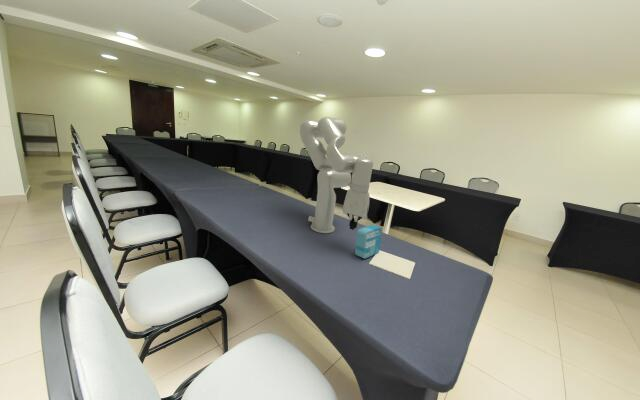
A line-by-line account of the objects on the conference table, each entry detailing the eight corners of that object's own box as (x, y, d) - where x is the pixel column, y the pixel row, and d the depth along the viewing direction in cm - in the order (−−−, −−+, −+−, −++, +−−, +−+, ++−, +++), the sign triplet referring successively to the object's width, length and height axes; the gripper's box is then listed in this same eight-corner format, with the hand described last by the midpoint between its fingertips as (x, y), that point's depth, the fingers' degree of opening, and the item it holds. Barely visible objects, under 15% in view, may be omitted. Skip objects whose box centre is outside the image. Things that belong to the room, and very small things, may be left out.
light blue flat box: (363, 259, 97) (365, 232, 95) (354, 256, 101) (356, 229, 98) (379, 252, 105) (382, 226, 103) (371, 248, 109) (373, 223, 106)
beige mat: (368, 264, 96) (369, 263, 96) (378, 250, 108) (378, 249, 108) (409, 279, 89) (409, 278, 89) (415, 263, 101) (415, 262, 101)
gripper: (339, 185, 99) (333, 226, 104) (374, 194, 92) (365, 236, 98) (346, 183, 105) (340, 221, 110) (379, 190, 99) (371, 231, 104)
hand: (352, 228), depth 104 cm, fingers closed
